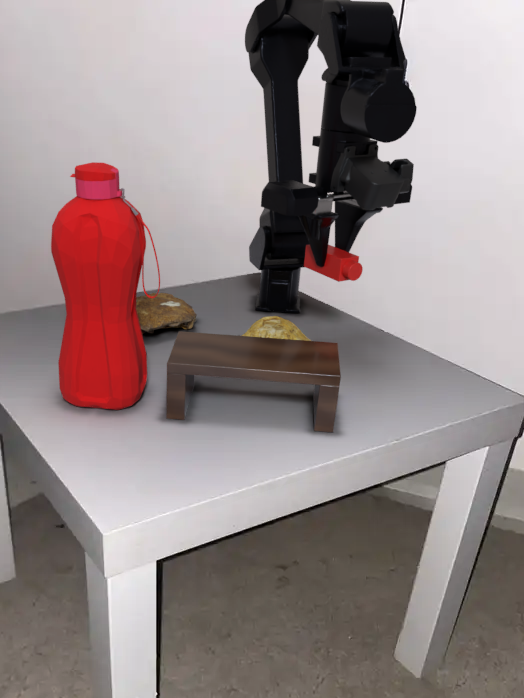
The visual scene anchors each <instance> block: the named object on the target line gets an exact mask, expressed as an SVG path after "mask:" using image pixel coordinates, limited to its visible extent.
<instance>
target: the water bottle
mask: <svg viewBox="0 0 524 698" xmlns="http://www.w3.org/2000/svg"><path fill="white" fill-rule="evenodd" d="M69 177H70V178H74V181H75V194H76V196H74V197H72V199H71V200H69V201H67V202H66V203H65V204H63V206H62V207H61V208H60V210H58V212H57V214H56V216H55V218H54V221H53V222H52V225H51V239H50V251H51V252H50V253H51V256H52V260H53V263H54V266H55V269H56V273H57V277H58V280H59V283H60V287H61V290H62V294H63V296H64V305H65V311H66V312H65V315H66V316H65V321H64V326H63V333H62V338H61V345H60V350H59V356H58V383H59V384H58V385H59V390H60V393H61V396H62V399H63V400H65V401H66V402H67V403H69V404H71V405H73V406H74V407H80V408H81V407H82V408H93V409H94V408H95V409H103V410H104V409H105V410H112V411H113V410H115V411H120V410H123V409H126V408H130V407H132V406H133V405H135V404H136V402H138V401H139V400H140V399H141V397H142V396H143V395H142V394H143V392H144V390H145V389H146V385H147V380H148V379H147V377H148V355H147V349H146V345H145V340H144V335H143V334H142V332H141V327H140V323H139V319H138V314H137V310H136V297H137V292H138V288H139V283H140V278H141V277H142V279H141V280H142V281H141V282H142V289H143V292H144V294H145V295H147V296H148V297H149V298H154V297H156V296H157V294H159V292H160V288H161V275H160V274H161V273H160V266H159V265H160V264H159V260H158V256H157V252H156V251H157V250H156V247H155V243H154V240H153V237H152V234H151V231H150V229H149V228H148V225H146V223H145V222H144V220H143V217H142V213H141V212H140V211H139V210H138V209H137V208H136V207H135V206H134V205H133V204H132V203H131V202H130V201H129V200H127V199H126V195H125V191H126V190H125V188H124V187H122V188H120V170H119V169H118V168H117V167H115V166H114V165H111V164H109V163H106V162H88V163H83V164H79V165H76V166H75V167H74V173H71V175H70V176H69ZM145 229H146V230H147V232H148V235H149V238H150V241H151V245H152V248H153V252H154V256H155V261H156V268H157V274H158V289H157V292H156V293H157V294H156V295H155V296H149V295H148V294H149V293H147V291H146V288H145V281H144V279H145V278H144V277H145V276H144V269H145V268H144V267H145V266H144V265H145V263H144V262H145V254H146V249H147V239H146V232H145Z"/></svg>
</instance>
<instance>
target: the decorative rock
mask: <svg viewBox="0 0 524 698" xmlns="http://www.w3.org/2000/svg"><path fill="white" fill-rule="evenodd" d="M147 294H148V295H149V296H155V295H156V294H157V292H156V293H155V292H152V293H147ZM136 310H137V314H138V319H139V323H140V327H141V332H142V335H143V334H145V333H148V334H154V331H155V330H160V329H170V328H173V329H174V328H175V329H176V328H181V329H184V330H190V329H193V327H194V324H195V323H196V322H197V315H198V314H197V313H196V312H195V310H194V309H193V306H192V305H190V304H189V303H187V302H186V301H185V300H183V299H181V298H179V297H177V296H176V297H175V296H174V294H172V293H166V292H160V293H158V294H157V296H156V297H154V298H149V297H148V296H147V295H146V294H145V295H139V296H136Z"/></svg>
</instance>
